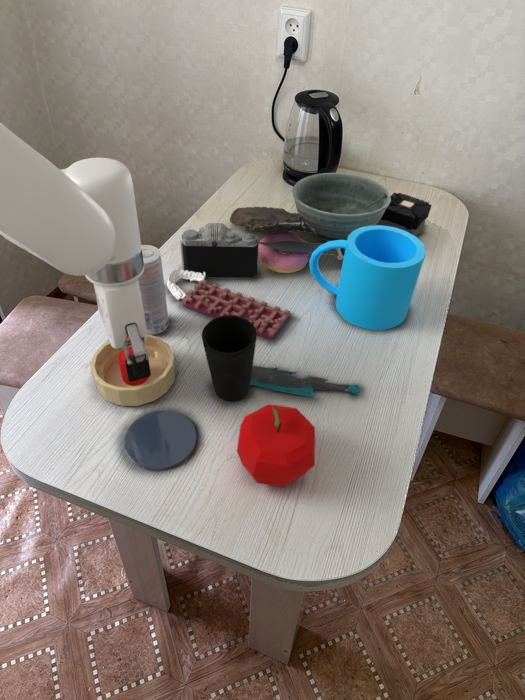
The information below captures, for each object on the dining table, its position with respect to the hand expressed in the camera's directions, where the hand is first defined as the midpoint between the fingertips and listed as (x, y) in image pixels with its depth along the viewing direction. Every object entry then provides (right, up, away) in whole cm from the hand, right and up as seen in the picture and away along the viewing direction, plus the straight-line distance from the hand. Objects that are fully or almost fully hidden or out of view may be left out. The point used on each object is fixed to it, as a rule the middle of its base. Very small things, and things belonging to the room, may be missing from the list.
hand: (130, 356), depth 76 cm
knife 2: (+23, -4, +4) cm, 24 cm away
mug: (+37, +10, +20) cm, 44 cm away
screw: (+43, +31, +27) cm, 59 cm away
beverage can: (+1, +5, +13) cm, 14 cm away
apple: (+21, -15, -7) cm, 27 cm away
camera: (+11, +17, +26) cm, 33 cm away
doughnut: (+24, +20, +29) cm, 42 cm away
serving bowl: (0, -3, +4) cm, 5 cm away
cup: (+15, -5, +3) cm, 16 cm away
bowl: (+36, +27, +38) cm, 59 cm away
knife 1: (+33, +19, +24) cm, 45 cm away
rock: (+29, +28, +29) cm, 50 cm away
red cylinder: (0, -3, +3) cm, 4 cm away
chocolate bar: (+15, +8, +16) cm, 23 cm away
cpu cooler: (+48, +34, +41) cm, 72 cm away
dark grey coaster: (+5, -12, -5) cm, 14 cm away
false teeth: (+4, +13, +21) cm, 26 cm away
